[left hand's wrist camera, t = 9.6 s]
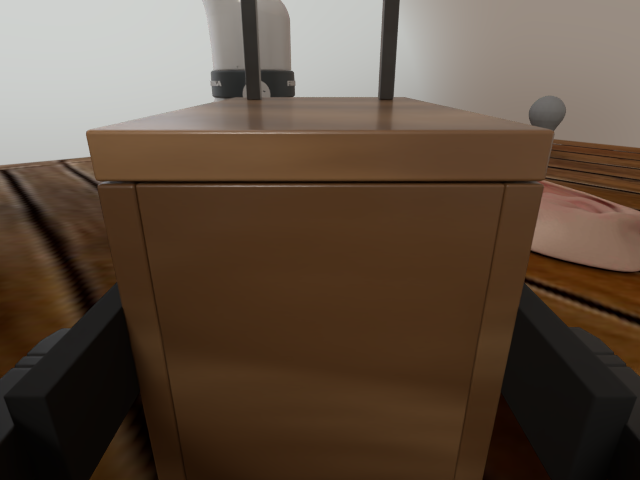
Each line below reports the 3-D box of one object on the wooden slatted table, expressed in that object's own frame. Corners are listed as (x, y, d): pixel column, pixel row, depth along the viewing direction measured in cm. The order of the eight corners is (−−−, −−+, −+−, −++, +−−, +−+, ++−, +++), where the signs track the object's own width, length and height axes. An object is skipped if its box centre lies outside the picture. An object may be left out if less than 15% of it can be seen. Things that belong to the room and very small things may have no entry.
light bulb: (529, 153, 75) (540, 96, 72) (517, 148, 81) (527, 95, 77) (562, 153, 75) (575, 96, 71) (548, 148, 80) (559, 95, 77)
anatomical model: (700, 227, 27) (510, 207, 30) (680, 281, 28) (501, 256, 32) (637, 182, 38) (505, 172, 42) (625, 222, 40) (498, 209, 43)
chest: (246, 287, 28) (233, 118, 24) (393, 287, 28) (406, 118, 24) (165, 518, 13) (94, 184, 9) (475, 518, 13) (545, 184, 9)
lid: (235, 117, 24) (223, -45, 21) (404, 117, 24) (416, -45, 21) (94, 182, 9) (-20, -356, 6) (546, 182, 9) (660, -356, 6)
